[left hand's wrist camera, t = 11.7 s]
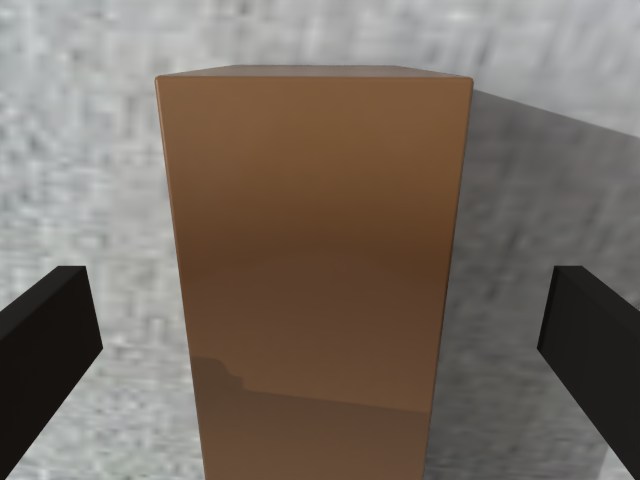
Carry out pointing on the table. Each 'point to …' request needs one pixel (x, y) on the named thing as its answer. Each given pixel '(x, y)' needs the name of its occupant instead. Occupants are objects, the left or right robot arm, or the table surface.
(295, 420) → the post
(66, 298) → the left robot arm
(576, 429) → the table surface
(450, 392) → the table surface
